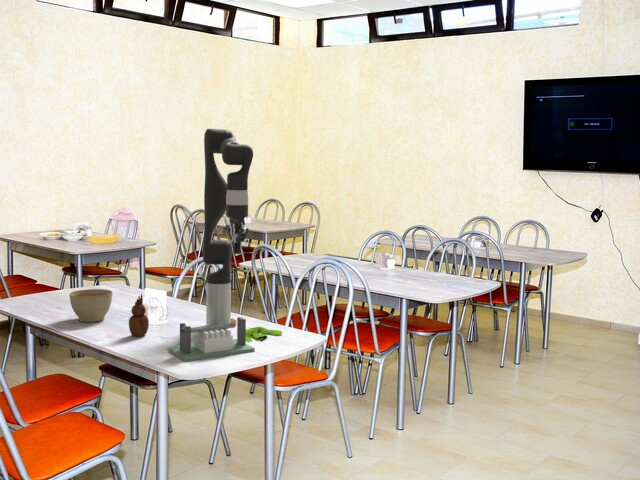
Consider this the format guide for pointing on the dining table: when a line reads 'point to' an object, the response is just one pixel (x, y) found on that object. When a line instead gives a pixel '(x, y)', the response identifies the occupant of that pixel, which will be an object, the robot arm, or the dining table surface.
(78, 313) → the planter bowl
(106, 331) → the dining table surface
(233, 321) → the wood-capped grey post
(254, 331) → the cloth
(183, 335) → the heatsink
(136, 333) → the wooden figurine
